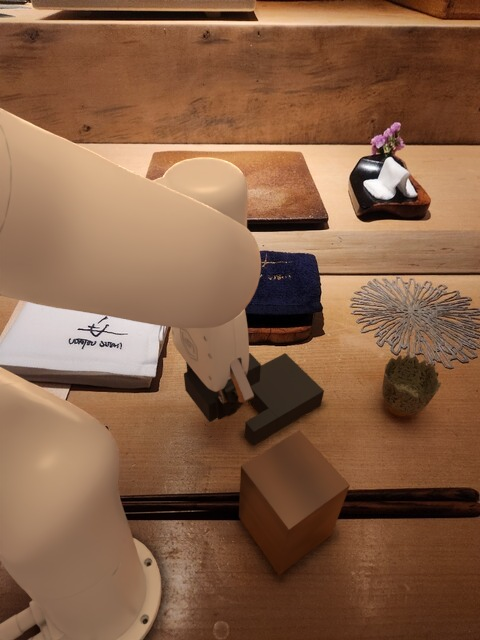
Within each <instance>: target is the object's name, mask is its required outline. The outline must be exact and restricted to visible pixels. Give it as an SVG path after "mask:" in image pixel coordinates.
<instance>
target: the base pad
mask: <svg viewBox="0 0 480 640" xmlns="http://www.w3.org/2000/svg"><path fill="white" fill-rule="evenodd" d="M250 387H251V389H252V392H253V394H254V398H252V399H250V400H249V401H248V402H249V403H250V405H251V406H252V407H253V408H254V409H255V410H256V411H257V413H258V414H256V415H254V416H252V417H250V418H249V419H247V420H246V421H245V423H244V437H245V438H246V440H247V442H249V443H250V444H251V446H252V447H254V446H256V445H257V444H259V443H260V442H262V441H265V440H266V439H267V438H269V437H271V436H272V435H274V434H276V433H277V432H279V431H281V430H283V429H284V428H286V427H287V426H289V425H290V424H292V423H294V422H296V421H297V420H299V419H301V418H302V417H304V416H305V415H307V414H309V413H310V412H312V411H313V410H315V409H317V408H319V407H321V406H322V401H323V398H324V393H325V390H324V389H323V388H322V387H321V386H320V385H319V384H318V383H317V382H316V381H315V380H314V379H313V378H312V377H311V376H310V375H309V374H308V373H307V372H305V370H304V369H303V368H302V367H301V366H300V365H299V364H298V363H297V362H296V361H294V359H292V357H290V356H289V355H288V354H287V353H286V352H284V353H283V354H281V355H279V356H277V357H275V358H273V359H271V360H269V361H267V362H265V363H263V364H261V370H260V381H259V382H258V383H256V384H254V385H252V386H250Z"/></svg>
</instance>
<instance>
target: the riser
mask: <svg viewBox="0 0 480 640" xmlns="http://www.w3.org/2000/svg"><path fill="white" fill-rule="evenodd" d="M239 475H240V477H239V480H240V481H239V499H238V500H239V501H238V502H239V503H238V518H239V520H240V522H241V524H243V526H244V527H245V529H246V530H247V531H248V533H249V535H250V536H251V537H252V539H253V540H254V542H255V544H257V546H258V548H259V549H260V550H261V552H262V553H263V555H264V556H265V558H266V559H267V561H268V562H269V563H270V565H271V566H272V568H273V569H274V571H275V573H276V574H277V575H278V576H281V575H282V574H283V573H285V572H286V571H287V570H288V569H290V568H292V566H293V565H295V564H296V563H298V562H299V561H300V560H301V559H303V558H304V557H305V556H307V555H308V554H309V553H311V551H313V550H314V549H316V548H317V547H318V546H320V545H321V544H322V543H323V542H325V541H326V540H327V539H328V538H330V537H331V536H332V535H333V532H334V529H335V527H336V524H337V521H338V518H339V517H340V514H341V511H342V509H343V508H342V507H343V505H344V503H345V500H346V497H347V495H348V492H349V488H350V486H351V485H350V483H348V481H347V480H346V479H345V478H344V477H343V476H342V474H340V472H339V471H338V470H337V469H336V468H335V467H334V466H333V465H332V463H330V462H329V460H328V459H327V458H326V457H325V456H324V455H323V454H322V453H321V452H320V450H319V449H318V448H317V446H315V445H314V444H313V443H312V442H311V441H310V439H309V438H308V437H307V436H306V435H305V434H304V433H303V432H302V431H301V430H300V429H297V430H296V431H295V432H293V433H291V434H290V435H288V436H287V437H285V438H284V439H281V440H280V441H279V442H277V443H275V444H274V445H272V446H270V447H268V448H267V449H265V450H264V451H263V452H261V453H259V454H258V455H256V456H254V457H253V458H251V459H249V460H248V461H246V462H245V463H243V464H241V465H240V474H239Z"/></svg>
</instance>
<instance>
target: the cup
mask: <svg viewBox="0 0 480 640" xmlns="http://www.w3.org/2000/svg"><path fill="white" fill-rule="evenodd" d="M402 357H403V356H402V354H401V355H400V354H399V355H398V356H397V357H396V358H393V357H391V358H390V359H389V360H388V362H387V363H386V364H385V367H384V375H383V380H382V386H381V393H382V398H383V401H384V402H385V404H386V407H387V409H388V411H389V413H391V415H393V416H395V417H397V418H406V417H409V416H410V415H414V414H418V413H419V412H421V411H423V410H424V409H425V408H426V407H427V406H428V405H429V403H430V402H431V401H432V399H433V398H434V396H435V395H436V394H437V392H438V391H439V390H440V387H441V385H442V382H439V380H438V379H439V372H438V371H436V366H435V365H433V364H427V360H426V359H423V360H421V361H419V359H418V357H417V356H415V355H414V356H412V357H411V355H410V354H407V355H405V356H404V357H403V358H402Z"/></svg>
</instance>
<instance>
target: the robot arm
mask: <svg viewBox="0 0 480 640" xmlns="http://www.w3.org/2000/svg"><path fill="white" fill-rule="evenodd" d="M248 187H249V185H248V182H247V178H246V176H245V174H244V172H243V171H242V170H241V169H240V168H239V167H238V166H237V165H235V164H234V163H232V162H230V161H228V160H225V159H221V158H217V157H193V158H187V159H184V160H181V161H179V162H176V163H174V164H173V165H172V166H170V167H169V168H168V169H166V171H165V172H164V174H163V175H162V176H160V177H158V178H155V179H150V178H147V177H145V176H143V175H141V174H139V173H136V172H134V171H132V170H130V169H128V168H126V167H124V166H122V165H120V164H119V163H116V162H114V161H113V160H110V159H108V158H106V157H105V156H103V155H100V154H99V153H96V152H94V151H93V150H90V149H88V148H86V147H84V146H82V145H79V144H78V143H75V142H73V141H71V140H68V139H67V138H65V137H62V136H60V135H57V134H55V133H52V132H50V131H48V130H46V129H44V128H41V127H40V126H38V125H36V124H33V123H31V122H30V121H28V120H25V119H23V118H21V117H19V116H18V115H15V114H13V113H12V112H9V111H7V110H5V109H3V108H2V107H0V297H3V298H9V299H13V300H18V301H22V302H27V303H30V304H35V305H39V306H44V307H50V308H54V309H61V310H69V311H76V312H82V313H88V314H95V315H99V316H106V317H111V318H117V319H121V320H127V321H132V322H138V323H143V324H148V325H154V326H161V327H167V328H171V338H172V343H173V345H174V347H175V348H176V350H177V351H178V353H179V355H180V356H181V358H183V360H184V361H185V365H186V372H187V371H189V370H193V371H194V372H195V373H196V374H197V376H198V377H199V378H200V379H201V381H202V382H203V383H204V384H205V385H206V386H207V387H208V388H209V389H210V390H212V391H215V392H217V393H218V396H216V397H215V407H216V417H217V420H218V421H219V420H222V419H224V418H225V417H230V416H232V415H234V414H235V413H237V412H238V410H240V407H241V405H240V402H242V403H243V404H245V403H247V402H249V400H250V399H252V398H254V394H253V392H252V389H251V387H250V384H249V382H248V380H247V377H246V375H247V372H248V366H249V353H250V344H249V342H250V339H249V328H248V321H247V314H246V308H247V307H248V305H249V304H250V302H251V301H252V299H253V297H254V295H255V293H256V291H257V289H258V286H259V282H260V278H261V272H262V271H261V270H262V259H261V258H262V257H261V252H260V248H259V246H258V245H259V244H258V242H257V240H256V238H255V236H254V235H253V233H252V232H251V230H249V228H248V207H249V206H248V203H249V192H248V191H249V189H248ZM230 380H232V382H233V386H231V387H229V388H227V389H225V388H224V387H225V386H226V384H227V382H229V381H230ZM120 470H121V455H120V448H119V445H118V442H117V440H116V438H115V437H114V435H113V433H112V432H111V431H110V430H109V429H108V428H107V427H106V426H105V425H104V424H103V423H102V422H101V421H99V420H98V419H96V418H95V417H94V416H93V415H92V414H89V412H87V411H85V410H84V409H82V408H81V407H79V406H78V405H75V404H74V403H71V402H70V401H68V400H66V399H64V398H62V397H61V396H58V395H56V394H55V393H53V392H51V391H49V390H47V389H45V388H42V387H41V386H39V385H37V384H35V383H33V382H30V381H29V380H26V379H25V378H22V377H21V376H19V375H16V374H15V373H13V372H11V371H9V370H8V369H5V368H3V367H1V366H0V562H1V564H2V566H3V568H4V569H5V571H6V572H7V573H8V575H9V576H10V577H11V578H12V579H13V580H14V581H15V583H16V584H17V585H18V586H19V587H20V588H21V589H22V590H23V591H24V592H25V593H26V594H27V595H28V596H29V598H30V599H31V601H29V606H28V607H27V608H25V609H24V610H22V611H20V612H19V613H17V614H16V613H15V614H14V615H12V616H11V617H9V618H7V619H6V620H4V621H3V622H1V623H0V640H16V639H17V638H19V637H20V636H22V635H23V634H24V633H25V632H26V631H28V630H29V629H31V628H33V627H34V626H38V627H39V630H40V632H39V633H36V635H33V636H31V637H30V638H28V639H27V640H144V639H145V638H146V636H147V634H148V633H149V632H150V630H151V629H152V627H153V625H154V622H155V621H156V618H157V615H158V612H159V609H160V605H161V601H162V600H161V599H162V593H163V589H162V577H161V572H160V569H159V566H158V563H157V560H156V559H155V557H154V555H153V553H152V552H151V550H150V549H149V548H148V547H147V546H146V545H145V544H144V543H143V542H141V541H140V540H138V539H137V538H135V537H133V533H132V530H131V527H130V524H129V521H128V518H127V516H126V512H125V510H124V506H123V504H122V500H121V496H120V490H119V489H120V488H119V483H120V482H119V481H120ZM148 564H150V565H149V566H148ZM146 620H147V622H146V623H144V621H146Z"/></svg>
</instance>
